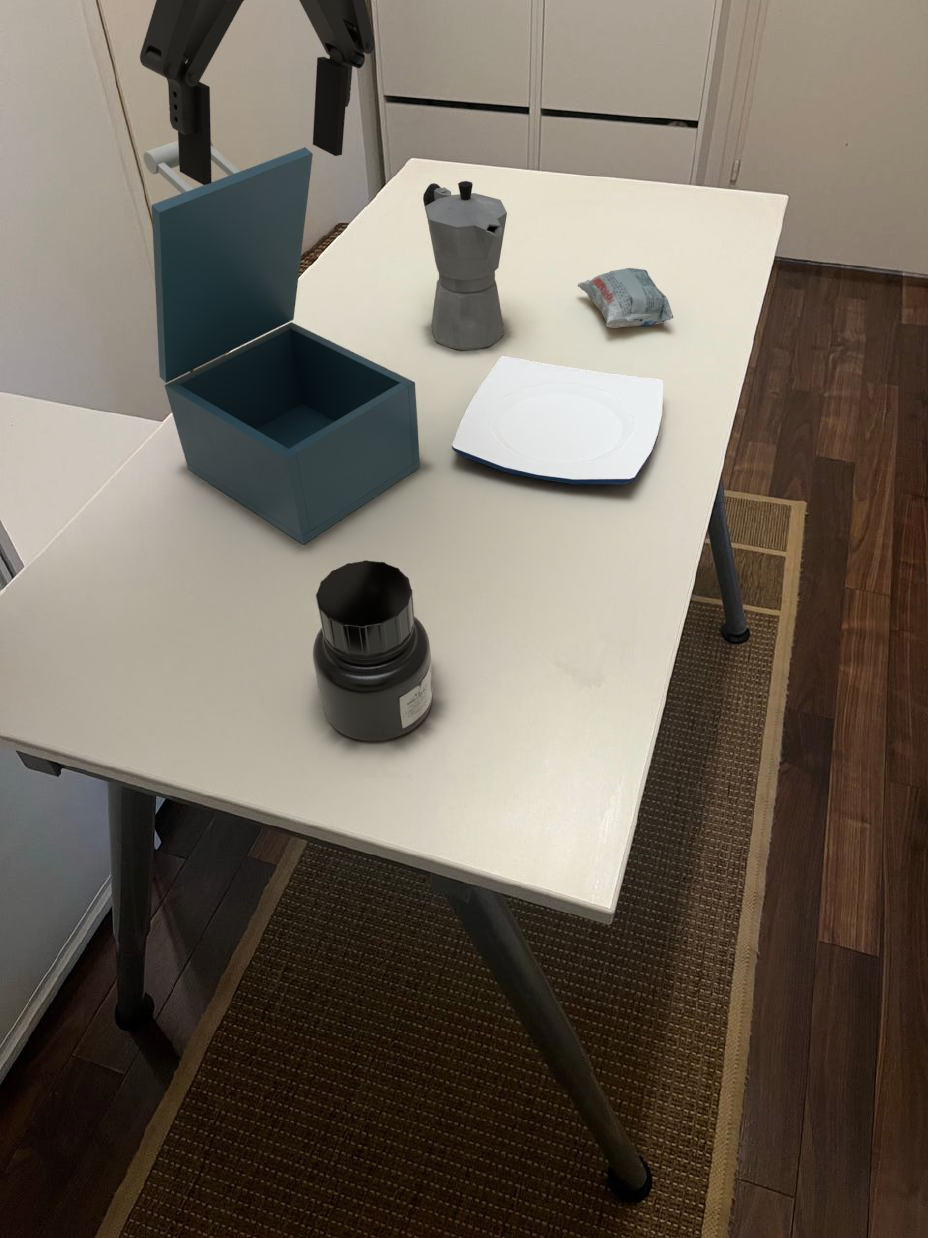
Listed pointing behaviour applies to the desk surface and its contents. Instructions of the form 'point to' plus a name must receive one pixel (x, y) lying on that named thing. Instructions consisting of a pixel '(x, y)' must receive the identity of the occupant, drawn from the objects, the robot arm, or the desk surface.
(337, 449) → the chest
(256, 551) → the desk surface
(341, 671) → the ink bottle
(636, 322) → the packaged food
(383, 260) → the desk surface
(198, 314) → the lid
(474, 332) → the coffeepot
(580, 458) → the plate
